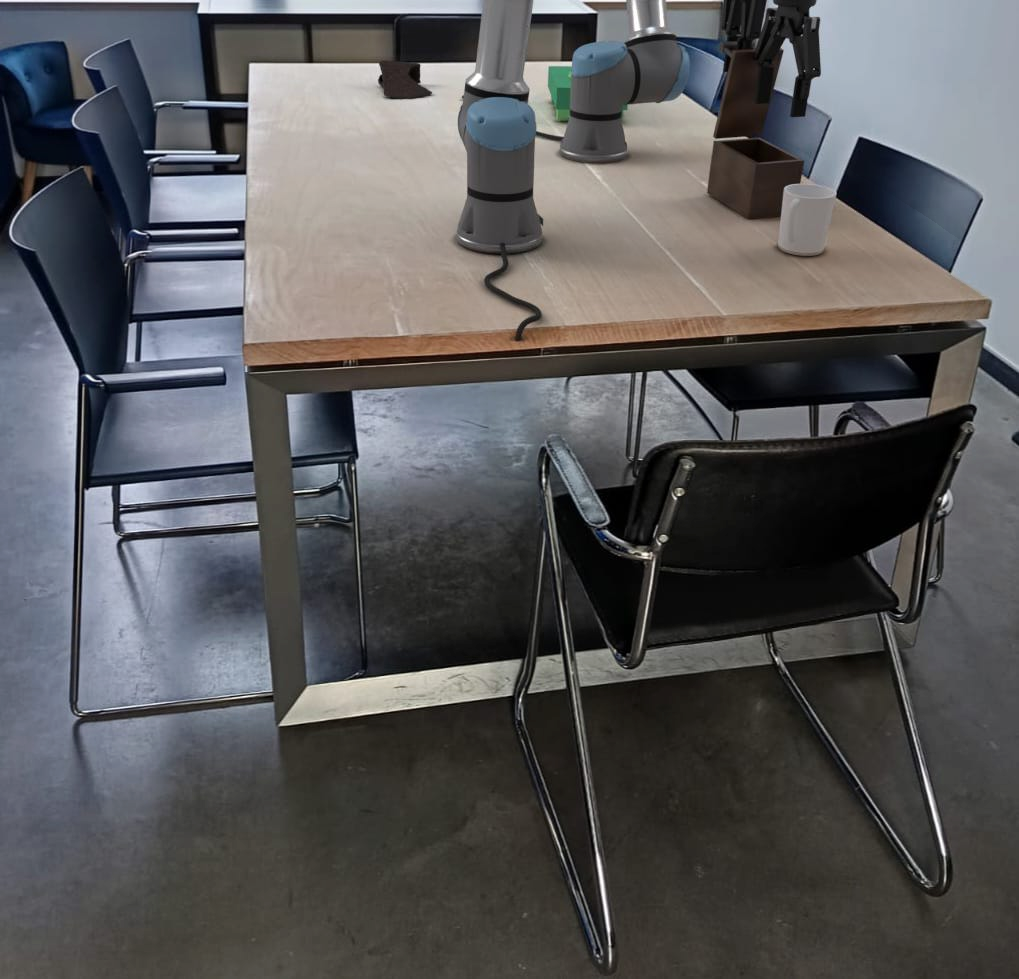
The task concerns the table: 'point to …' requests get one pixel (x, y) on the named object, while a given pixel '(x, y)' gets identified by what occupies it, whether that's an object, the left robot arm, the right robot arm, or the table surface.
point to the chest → (752, 176)
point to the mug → (805, 218)
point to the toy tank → (562, 91)
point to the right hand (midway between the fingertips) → (734, 73)
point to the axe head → (401, 79)
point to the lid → (742, 94)
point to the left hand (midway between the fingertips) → (779, 109)
